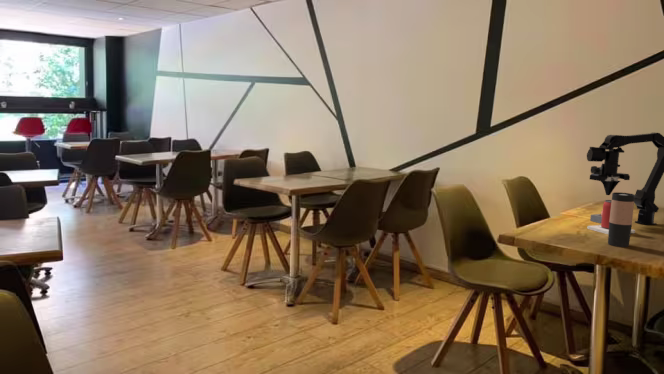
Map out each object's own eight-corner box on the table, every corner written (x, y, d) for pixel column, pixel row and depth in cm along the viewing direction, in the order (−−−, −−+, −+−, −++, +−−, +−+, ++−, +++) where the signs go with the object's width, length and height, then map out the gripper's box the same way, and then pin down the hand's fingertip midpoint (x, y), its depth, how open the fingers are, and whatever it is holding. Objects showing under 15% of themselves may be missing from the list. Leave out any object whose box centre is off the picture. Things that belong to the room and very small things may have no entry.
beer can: (620, 230, 217) (623, 202, 215) (603, 229, 218) (606, 201, 216) (614, 226, 223) (617, 200, 222) (598, 226, 224) (601, 199, 223)
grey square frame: (604, 219, 245) (605, 213, 244) (620, 223, 236) (621, 217, 236) (590, 220, 242) (590, 214, 242) (605, 224, 234) (606, 218, 233)
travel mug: (602, 242, 200) (607, 192, 197) (621, 242, 201) (626, 192, 198) (615, 247, 192) (620, 195, 190) (634, 247, 193) (639, 195, 190)
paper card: (611, 226, 229) (611, 224, 229) (634, 232, 218) (635, 230, 217) (587, 228, 224) (587, 225, 224) (609, 234, 213) (610, 232, 213)
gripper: (612, 160, 246) (608, 191, 248) (581, 160, 240) (578, 193, 242) (632, 162, 235) (628, 195, 237) (601, 162, 229) (597, 196, 231)
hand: (607, 195), depth 237 cm, fingers closed
